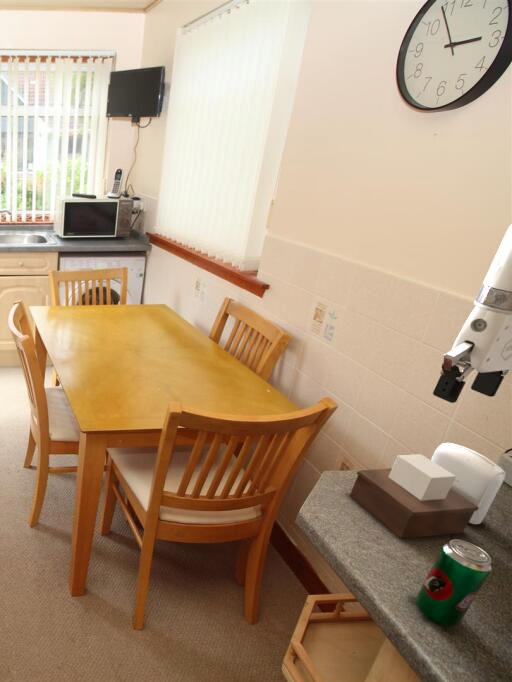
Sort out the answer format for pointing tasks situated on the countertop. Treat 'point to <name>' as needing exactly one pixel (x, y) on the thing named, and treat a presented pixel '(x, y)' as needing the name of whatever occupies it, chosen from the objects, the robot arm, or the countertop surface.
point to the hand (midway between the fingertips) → (463, 395)
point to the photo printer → (471, 476)
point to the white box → (421, 477)
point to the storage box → (410, 507)
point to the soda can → (453, 582)
